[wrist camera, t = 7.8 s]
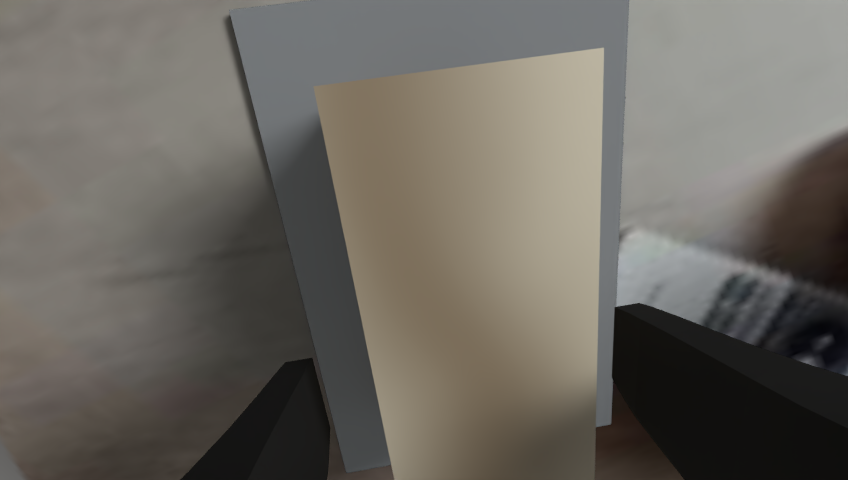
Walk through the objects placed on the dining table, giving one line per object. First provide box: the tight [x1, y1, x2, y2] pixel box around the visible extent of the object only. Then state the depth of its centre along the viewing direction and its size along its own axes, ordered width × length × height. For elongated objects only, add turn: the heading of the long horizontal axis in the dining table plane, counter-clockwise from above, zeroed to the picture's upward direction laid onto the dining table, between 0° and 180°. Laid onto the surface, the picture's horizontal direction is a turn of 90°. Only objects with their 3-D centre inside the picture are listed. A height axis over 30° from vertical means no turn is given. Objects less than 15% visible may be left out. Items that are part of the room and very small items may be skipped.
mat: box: [229, 0, 629, 473], centre depth 16 cm, size 12×18×1 cm, turn 7°
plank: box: [313, 48, 604, 480], centre depth 10 cm, size 4×13×4 cm, turn 7°
